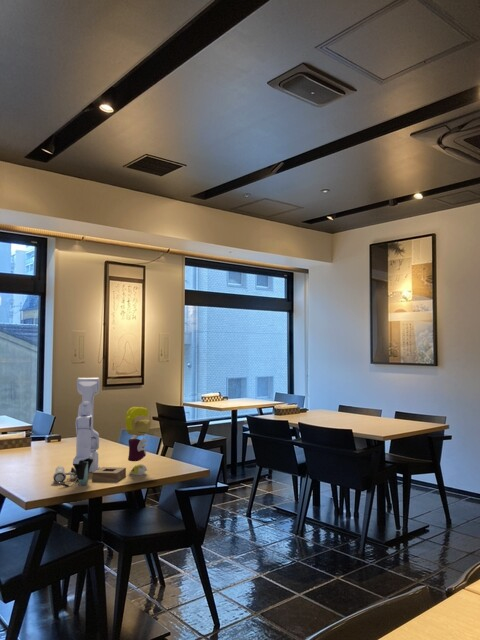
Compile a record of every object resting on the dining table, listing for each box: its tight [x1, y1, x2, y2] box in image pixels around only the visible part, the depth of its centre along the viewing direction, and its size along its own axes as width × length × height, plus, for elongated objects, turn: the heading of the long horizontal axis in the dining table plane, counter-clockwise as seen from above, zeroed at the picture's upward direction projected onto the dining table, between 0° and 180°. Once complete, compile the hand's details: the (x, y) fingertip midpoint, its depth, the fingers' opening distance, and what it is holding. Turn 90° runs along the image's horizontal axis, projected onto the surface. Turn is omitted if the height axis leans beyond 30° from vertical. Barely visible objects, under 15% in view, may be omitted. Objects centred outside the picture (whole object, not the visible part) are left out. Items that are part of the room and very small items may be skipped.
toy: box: [124, 406, 152, 476], centre depth 234 cm, size 22×12×30 cm, turn 9°
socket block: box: [91, 466, 127, 482], centre depth 220 cm, size 11×11×4 cm
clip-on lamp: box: [52, 465, 79, 488], centre depth 213 cm, size 12×6×18 cm
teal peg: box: [78, 461, 89, 486], centre depth 210 cm, size 4×4×9 cm
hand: (82, 478), depth 210 cm, fingers closed on teal peg, 4 cm apart
